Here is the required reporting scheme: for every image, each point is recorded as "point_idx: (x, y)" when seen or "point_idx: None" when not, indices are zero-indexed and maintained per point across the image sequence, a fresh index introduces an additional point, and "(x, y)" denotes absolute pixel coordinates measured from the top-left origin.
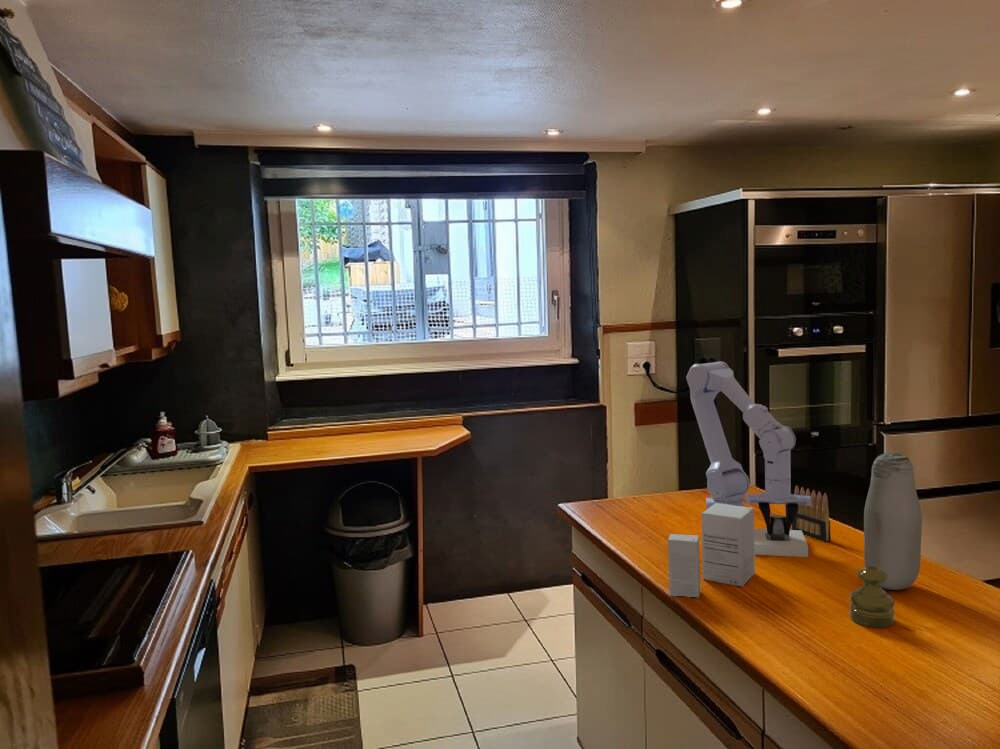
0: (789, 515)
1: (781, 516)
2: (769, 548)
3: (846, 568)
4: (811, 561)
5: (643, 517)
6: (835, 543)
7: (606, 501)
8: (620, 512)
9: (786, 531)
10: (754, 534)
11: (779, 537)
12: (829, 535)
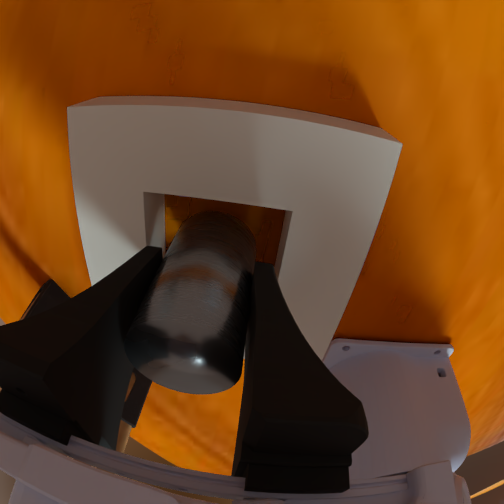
0: (72, 324)
1: (155, 366)
2: (297, 116)
3: (3, 6)
4: (95, 39)
5: (487, 416)
6: (26, 266)
7: (478, 450)
8: (499, 424)
9: (151, 256)
10: (330, 304)
11: (206, 230)
12: (33, 300)
